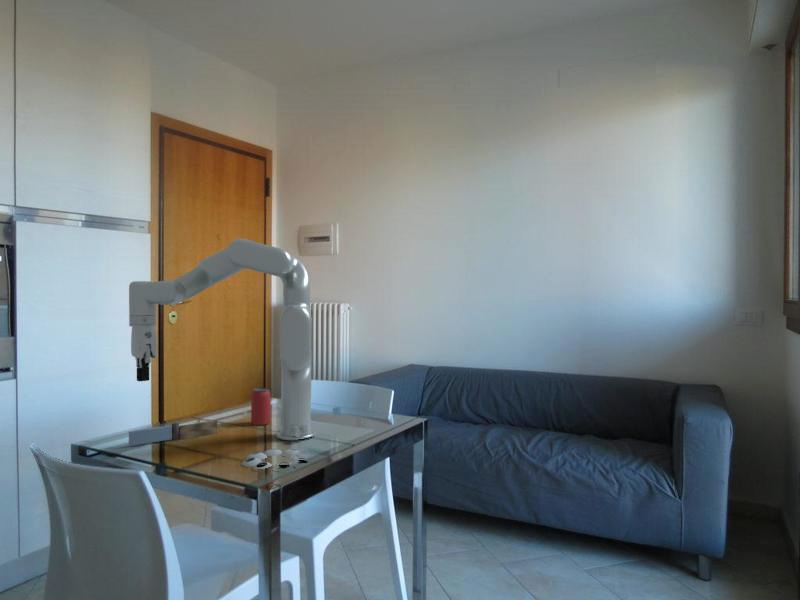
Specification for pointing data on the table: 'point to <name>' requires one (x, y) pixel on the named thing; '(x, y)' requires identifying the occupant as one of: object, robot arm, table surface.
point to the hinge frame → (193, 430)
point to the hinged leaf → (150, 435)
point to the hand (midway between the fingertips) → (143, 380)
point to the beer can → (260, 406)
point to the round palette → (257, 457)
